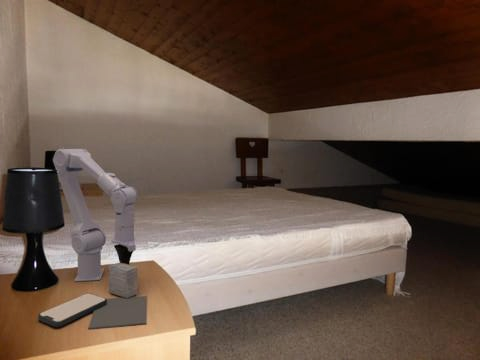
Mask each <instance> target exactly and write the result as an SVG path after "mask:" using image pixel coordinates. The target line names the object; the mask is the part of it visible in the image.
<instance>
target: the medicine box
mask: <svg viewBox="0 0 480 360" xmlns="http://www.w3.org/2000/svg"><path fill="white" fill-rule="evenodd" d="M108 292H109V294H112V295H115V296H119V297H120V298H124V297H125V298H129V297H134V296H136V295H137V294H138V267H137V265H135V266H134V265H131V264H129V265H128V264H124V263H120V262H116V263H114V264H110V265H109V266H108Z"/></svg>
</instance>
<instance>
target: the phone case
mask: <svg viewBox="0 0 480 360" xmlns="http://www.w3.org/2000/svg"><path fill="white" fill-rule="evenodd" d="M107 299H108V298H106V297H103V296H100V295H97V294H94V293H90V292H89V293H85V294H82V295H80V296H78V297H75V298H73V299H71V300H68V301H65V302H63V303H61V304H58V305H56V306H54V307H51V308H49V309H46V310H45V311H43V312H40V313H38V315H37V318H38V319H37V320H38V321H40V322H42V323H45V324H47V325H49V326H52V327H55V328H58V327H63V326H64V325H66V324H68V323H70V322H73V321H74V320H76V319H79V318H81V317H83V316H85V315H87V314H90V313H91V312H93V311H94V310H95V309H98V308H100V307H102V306H104V305H106V304H107Z"/></svg>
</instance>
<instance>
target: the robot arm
mask: <svg viewBox="0 0 480 360" xmlns="http://www.w3.org/2000/svg"><path fill="white" fill-rule="evenodd" d="M52 162H53V165H54V167H55V171H56V170H57V171H56V173H58V174H57V175H58V176H57V177H58V181H59V184H60V186H61V189H62V192H63V195H64V197H65V200H66V203H67V206H68V209H69V212H70V215H71V218H72V220H73V223H74V227H73V229H72V231H71V232H70V238H71V247H72V249H73V251H74V252H75V254H77V274H76V276H75V278H74V282H86V281H87V282H88V281H100V280H101V279H102V276H103V274H104V271H105V268H102V265H101V264H102V263H101V262H102V261H101V260H102V259H101V258H102V257H101V255H102V253H101V251H102V250H103V247H104V245H105V244H106V242H107V237H106V234H105V232H104V231H103V230H102V228H101V225H100V224H99V223H97V222H94V221H93V220H92V216H91V214H90V211H89V208H88V205H87V203H86V200H85V198H84V197H85V196H84V195H83V194H84V193H83V191H82V189H81V186H80V182H79V179H78V177H79V176H80V175H81V174H82V172H83V171H84V172H86V173H87V174H88V175H90V176H91V177H93V178H94V179H95V180H96V181H97V185H98V188H100V189H101V190H102V191H103V192H104V193H105V194H107V195H108V197H110V202H111V204H112V206H113V211H114V215H115V216H114V222H115V223H114V227H115V228H114V239H111V240H110V241H111V243H112V244H114V246H113V248H114V249H115V251H116V254H117V257H118V261H119V262H118V263H124V264H128V265H130V263H131V258H132V255H133V253H134V252H135V251H136V245H137V244H135V239H136V238H135V204H136V203H137V202H138V200H139V193H138V190H137V189H136V188H135V187H133V186H128V185H126V184H125V182H122V181H121V180H120V179H119V178H118V177H117V176H116V174H115V173H114V172H105V170H103V168H102V167H101V166H100V165H99V164H98V163H97V162H96V161H95V160H94V159H93V157H92V154H91V152H88V150H87V149H85V148H58V149H57V150H56V151H55V153H54V155H53V158H52Z"/></svg>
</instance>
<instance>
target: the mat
mask: <svg viewBox="0 0 480 360" xmlns="http://www.w3.org/2000/svg"><path fill="white" fill-rule="evenodd" d="M106 299H107V304H106V305H104V306H102V307H100V308H98V309H95V310H93V311H92V315H91V318H90V321H89V324H88V327H87V329H88V330H99V329H107V328H121V327H132V326H133V327H134V326H144V325H147V307H148V306H147V302H148V301H147V295H143V296H142V295H141V296H140V295H139V296H131V297H129V298H125V297H113V298H112V297H111V298H106Z"/></svg>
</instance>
